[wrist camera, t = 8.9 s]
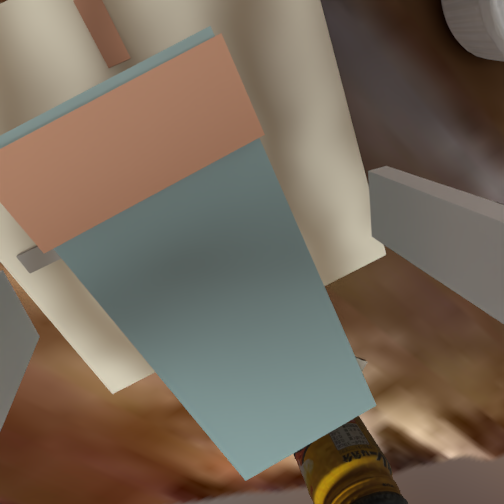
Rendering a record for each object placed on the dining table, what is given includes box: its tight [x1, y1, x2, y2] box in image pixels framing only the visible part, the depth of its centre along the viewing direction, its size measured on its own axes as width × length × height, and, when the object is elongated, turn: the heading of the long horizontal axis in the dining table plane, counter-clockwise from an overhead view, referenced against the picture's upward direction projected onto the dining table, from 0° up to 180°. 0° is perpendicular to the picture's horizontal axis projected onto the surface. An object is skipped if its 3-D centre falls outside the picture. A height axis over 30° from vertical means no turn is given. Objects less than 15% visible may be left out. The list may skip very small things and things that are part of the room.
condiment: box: [294, 358, 408, 504], centre depth 29 cm, size 7×8×12 cm
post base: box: [0, 0, 386, 394], centre depth 23 cm, size 22×22×2 cm
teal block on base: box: [0, 26, 376, 481], centre depth 16 cm, size 12×7×14 cm, turn 25°
